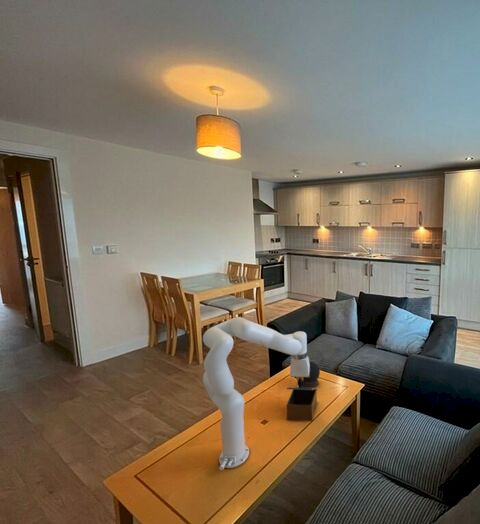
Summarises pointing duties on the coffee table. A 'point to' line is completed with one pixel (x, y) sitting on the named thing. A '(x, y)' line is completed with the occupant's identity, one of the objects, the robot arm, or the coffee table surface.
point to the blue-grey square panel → (302, 388)
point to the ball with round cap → (312, 376)
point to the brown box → (302, 405)
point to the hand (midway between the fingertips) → (300, 386)
